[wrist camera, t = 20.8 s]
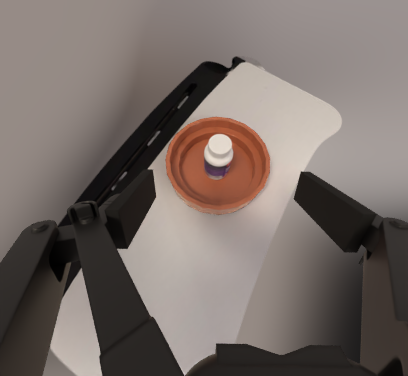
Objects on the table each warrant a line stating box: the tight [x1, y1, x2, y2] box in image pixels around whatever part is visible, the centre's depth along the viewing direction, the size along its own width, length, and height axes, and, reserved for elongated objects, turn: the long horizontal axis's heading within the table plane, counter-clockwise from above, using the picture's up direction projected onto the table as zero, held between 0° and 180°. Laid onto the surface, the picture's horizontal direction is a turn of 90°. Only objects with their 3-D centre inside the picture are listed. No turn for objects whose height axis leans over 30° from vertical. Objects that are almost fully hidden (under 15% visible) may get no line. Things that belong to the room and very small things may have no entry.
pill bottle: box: [204, 134, 233, 180], centre depth 29 cm, size 5×5×8 cm
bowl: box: [166, 117, 270, 215], centre depth 31 cm, size 17×17×4 cm
